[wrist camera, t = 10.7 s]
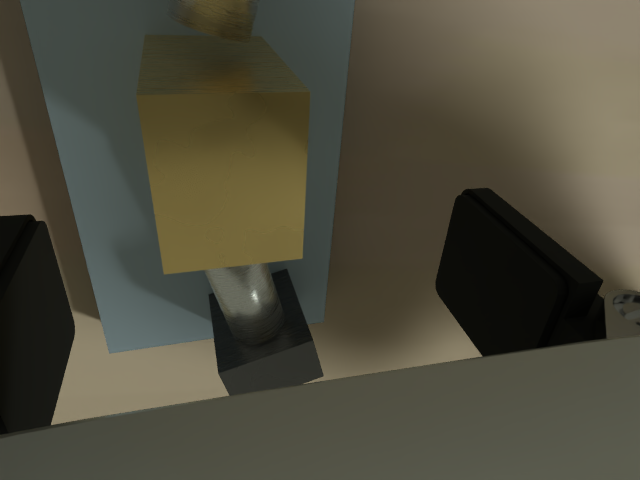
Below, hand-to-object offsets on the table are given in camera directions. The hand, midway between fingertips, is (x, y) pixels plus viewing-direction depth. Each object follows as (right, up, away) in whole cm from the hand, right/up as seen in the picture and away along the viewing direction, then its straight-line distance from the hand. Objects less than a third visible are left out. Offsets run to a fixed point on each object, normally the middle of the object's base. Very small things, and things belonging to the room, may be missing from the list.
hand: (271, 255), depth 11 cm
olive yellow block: (-3, +6, +7) cm, 9 cm away
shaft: (-3, 0, +11) cm, 11 cm away
